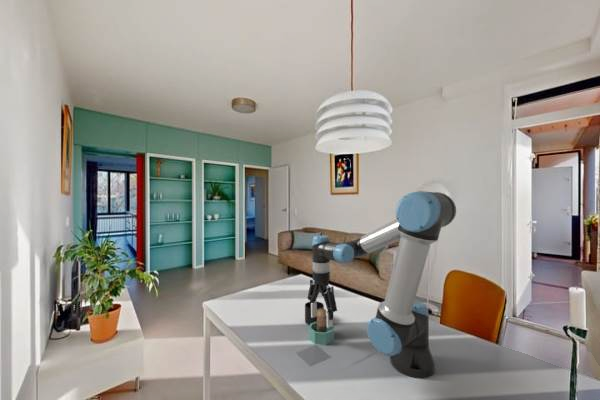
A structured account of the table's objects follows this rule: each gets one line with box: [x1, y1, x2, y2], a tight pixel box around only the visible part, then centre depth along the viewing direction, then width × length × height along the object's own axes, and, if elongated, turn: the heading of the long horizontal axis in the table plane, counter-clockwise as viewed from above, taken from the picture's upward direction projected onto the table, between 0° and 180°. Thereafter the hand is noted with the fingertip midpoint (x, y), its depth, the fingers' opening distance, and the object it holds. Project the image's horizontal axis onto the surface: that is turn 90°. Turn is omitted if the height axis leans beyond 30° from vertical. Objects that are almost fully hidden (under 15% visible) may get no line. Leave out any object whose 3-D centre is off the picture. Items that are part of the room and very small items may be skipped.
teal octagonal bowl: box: [308, 321, 335, 346], centre depth 111 cm, size 11×11×6 cm
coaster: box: [295, 344, 332, 367], centre depth 99 cm, size 10×10×1 cm
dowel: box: [317, 308, 327, 333], centre depth 111 cm, size 4×4×12 cm
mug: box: [304, 301, 327, 326], centre depth 126 cm, size 9×12×9 cm
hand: (321, 321), depth 111 cm, fingers open, 10 cm apart
